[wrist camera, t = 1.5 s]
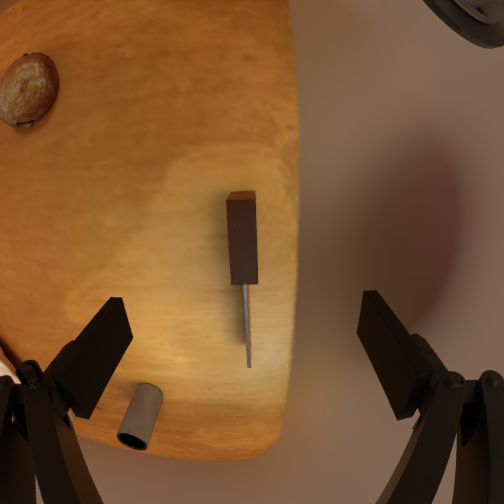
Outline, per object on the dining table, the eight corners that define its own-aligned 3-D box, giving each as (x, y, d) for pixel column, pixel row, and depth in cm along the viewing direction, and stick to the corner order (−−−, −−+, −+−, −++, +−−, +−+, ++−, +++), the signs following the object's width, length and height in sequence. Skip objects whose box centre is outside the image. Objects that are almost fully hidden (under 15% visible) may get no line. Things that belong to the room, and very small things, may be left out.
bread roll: (28, 126, 28) (-3, 150, 23) (8, 70, 21) (-28, 87, 15) (76, 98, 28) (46, 118, 22) (56, 35, 20) (20, 44, 15)
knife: (230, 191, 29) (226, 199, 24) (255, 190, 29) (255, 198, 24) (240, 344, 35) (238, 370, 30) (259, 344, 35) (260, 370, 30)
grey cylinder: (131, 387, 39) (110, 435, 29) (148, 379, 38) (128, 430, 28) (151, 404, 40) (135, 452, 30) (169, 396, 39) (154, 448, 29)
